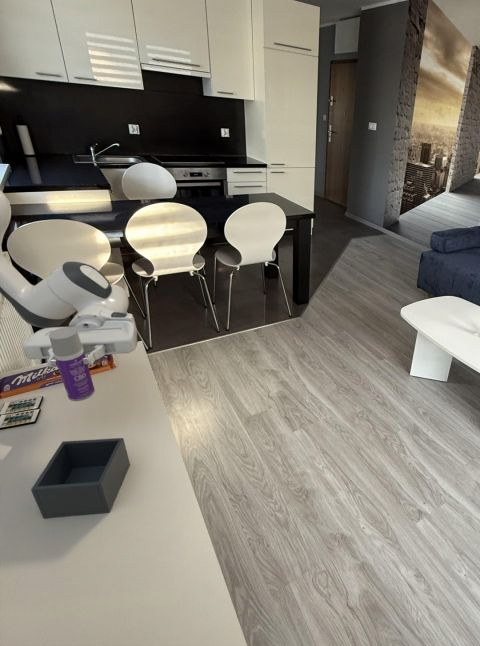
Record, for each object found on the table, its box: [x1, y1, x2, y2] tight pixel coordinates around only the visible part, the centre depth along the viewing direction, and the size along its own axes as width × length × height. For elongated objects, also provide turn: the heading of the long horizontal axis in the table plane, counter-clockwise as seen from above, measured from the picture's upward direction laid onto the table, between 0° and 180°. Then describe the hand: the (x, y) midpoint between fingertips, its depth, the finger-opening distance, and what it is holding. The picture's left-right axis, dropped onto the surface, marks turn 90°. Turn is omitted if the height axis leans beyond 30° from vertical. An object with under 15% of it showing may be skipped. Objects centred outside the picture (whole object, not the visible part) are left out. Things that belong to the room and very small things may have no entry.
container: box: [49, 326, 96, 402], centre depth 79 cm, size 5×5×15 cm
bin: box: [30, 437, 131, 519], centre depth 78 cm, size 11×11×8 cm
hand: (70, 363), depth 78 cm, fingers closed on container, 4 cm apart
